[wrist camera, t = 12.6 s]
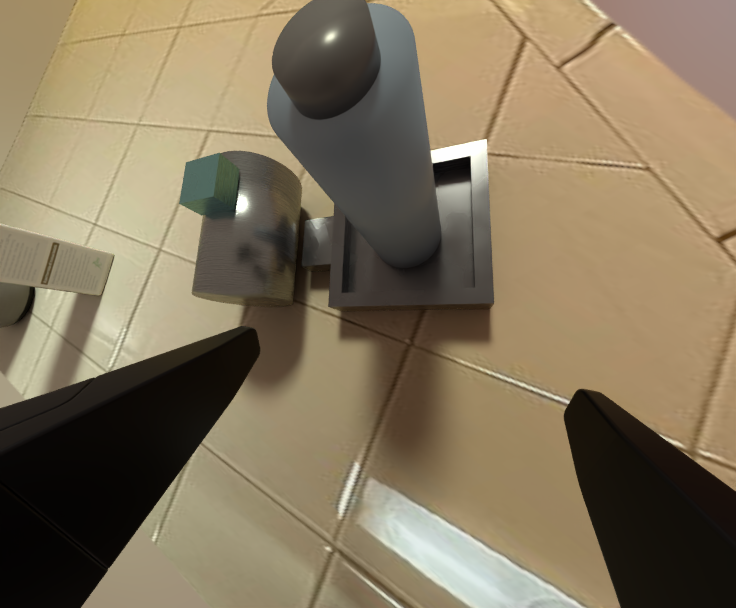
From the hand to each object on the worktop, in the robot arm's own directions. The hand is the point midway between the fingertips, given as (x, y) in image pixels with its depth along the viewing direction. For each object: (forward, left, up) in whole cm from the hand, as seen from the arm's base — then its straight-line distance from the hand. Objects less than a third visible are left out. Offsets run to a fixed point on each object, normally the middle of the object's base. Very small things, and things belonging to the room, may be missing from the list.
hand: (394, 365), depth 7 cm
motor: (+9, +7, -12) cm, 16 cm away
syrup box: (+9, +43, -12) cm, 45 cm away
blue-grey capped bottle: (+9, +2, -11) cm, 14 cm away
